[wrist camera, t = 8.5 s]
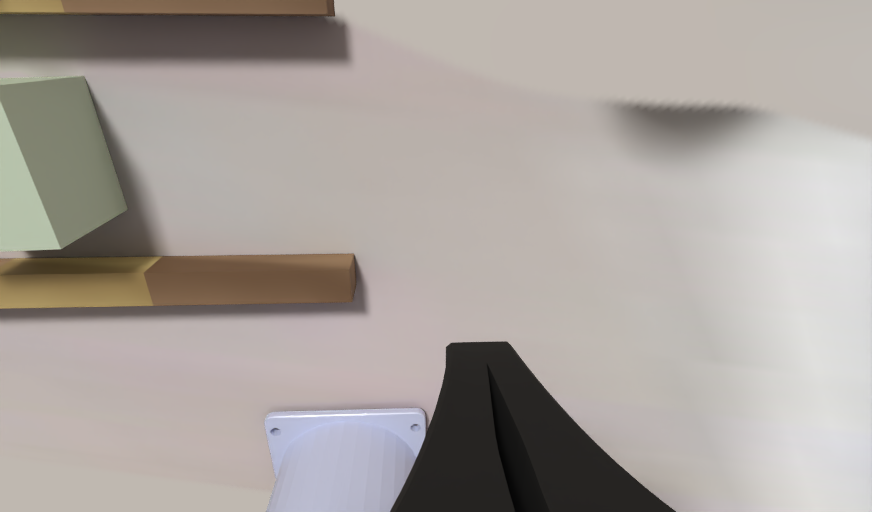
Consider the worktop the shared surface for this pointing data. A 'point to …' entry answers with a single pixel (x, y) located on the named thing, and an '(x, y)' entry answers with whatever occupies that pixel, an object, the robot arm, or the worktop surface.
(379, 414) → the robot arm
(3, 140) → the block
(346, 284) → the twin wooden rails
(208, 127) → the worktop surface
